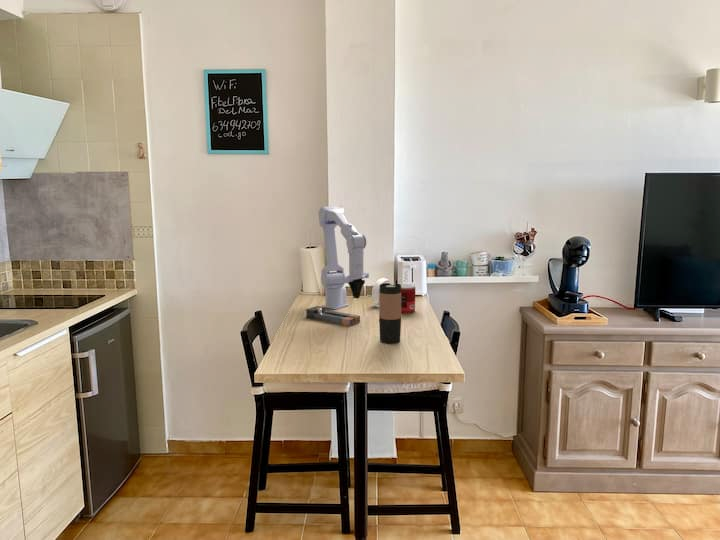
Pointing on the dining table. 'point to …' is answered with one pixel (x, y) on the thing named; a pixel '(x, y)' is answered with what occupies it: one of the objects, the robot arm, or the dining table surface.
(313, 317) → the tongs base
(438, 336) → the dining table surface
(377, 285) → the headphone stand
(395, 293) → the travel mug
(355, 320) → the tong arm
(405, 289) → the canned food
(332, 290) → the robot arm
